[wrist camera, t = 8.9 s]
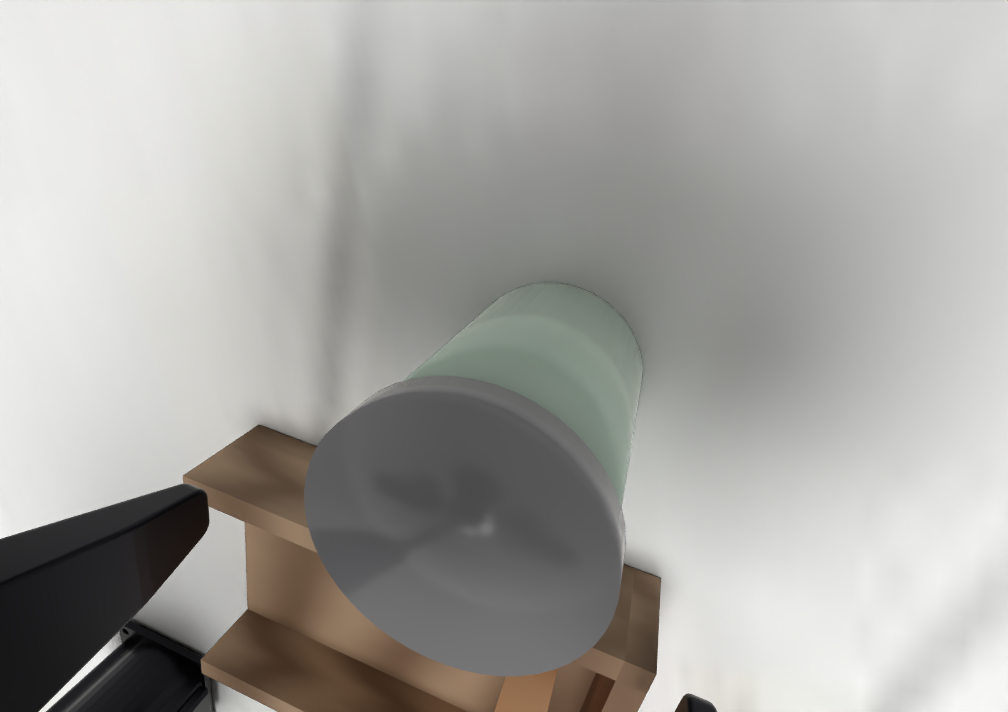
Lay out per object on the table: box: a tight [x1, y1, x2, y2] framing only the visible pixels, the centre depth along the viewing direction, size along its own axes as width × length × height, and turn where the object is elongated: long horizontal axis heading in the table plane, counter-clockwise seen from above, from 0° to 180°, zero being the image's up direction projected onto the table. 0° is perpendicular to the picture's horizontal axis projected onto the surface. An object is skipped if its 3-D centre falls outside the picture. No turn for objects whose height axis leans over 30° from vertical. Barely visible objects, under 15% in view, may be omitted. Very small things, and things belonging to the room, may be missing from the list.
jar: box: [304, 282, 643, 676], centre depth 14 cm, size 6×6×9 cm
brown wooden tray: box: [183, 425, 661, 712], centre depth 22 cm, size 18×12×4 cm, turn 79°
